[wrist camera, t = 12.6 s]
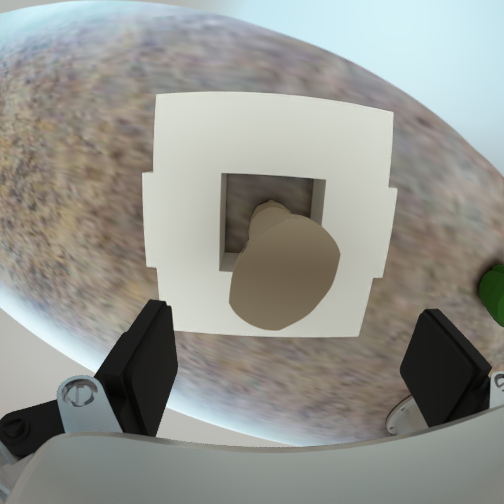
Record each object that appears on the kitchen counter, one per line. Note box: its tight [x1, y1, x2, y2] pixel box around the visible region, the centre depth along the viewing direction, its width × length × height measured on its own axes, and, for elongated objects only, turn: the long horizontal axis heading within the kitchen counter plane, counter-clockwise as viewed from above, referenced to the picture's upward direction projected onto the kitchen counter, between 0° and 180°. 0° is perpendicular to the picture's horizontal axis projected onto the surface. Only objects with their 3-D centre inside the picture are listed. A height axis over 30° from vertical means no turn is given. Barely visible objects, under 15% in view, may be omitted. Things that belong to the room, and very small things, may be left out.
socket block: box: [142, 92, 398, 337], centre depth 26 cm, size 22×22×5 cm
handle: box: [229, 200, 341, 331], centre depth 22 cm, size 5×6×15 cm
